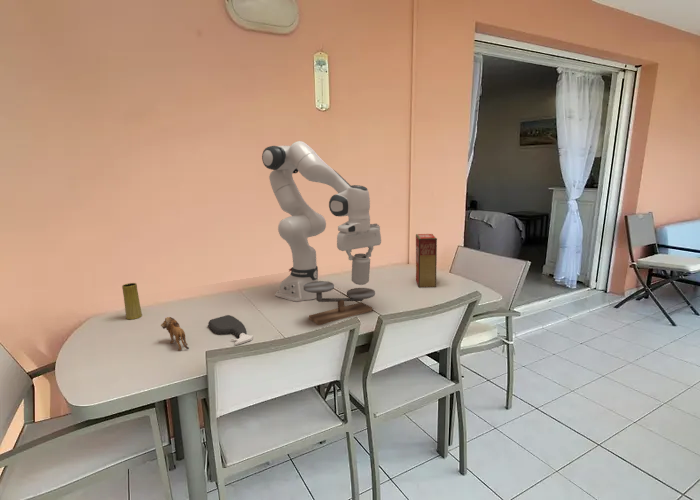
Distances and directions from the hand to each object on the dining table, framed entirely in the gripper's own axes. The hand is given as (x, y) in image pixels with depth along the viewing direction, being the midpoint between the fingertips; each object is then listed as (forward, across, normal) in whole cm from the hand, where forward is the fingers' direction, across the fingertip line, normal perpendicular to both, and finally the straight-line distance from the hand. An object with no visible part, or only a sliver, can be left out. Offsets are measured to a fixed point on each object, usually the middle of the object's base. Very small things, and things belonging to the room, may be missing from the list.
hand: (360, 258), depth 162 cm
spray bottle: (+23, +53, -10) cm, 58 cm away
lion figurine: (+23, +72, -11) cm, 76 cm away
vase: (+23, +82, -50) cm, 99 cm away
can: (+11, 0, 0) cm, 11 cm away
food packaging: (+23, -48, -10) cm, 54 cm away
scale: (+22, +10, 0) cm, 25 cm away
